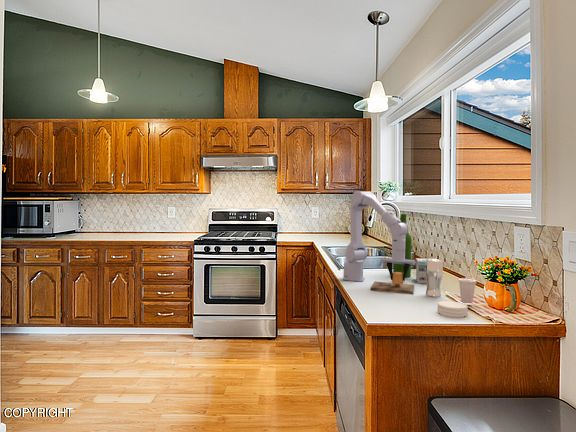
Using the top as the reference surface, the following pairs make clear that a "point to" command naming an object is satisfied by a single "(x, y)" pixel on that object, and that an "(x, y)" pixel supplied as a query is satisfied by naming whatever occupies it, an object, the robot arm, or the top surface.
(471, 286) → the smoothie
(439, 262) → the beer glass
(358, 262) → the robot arm
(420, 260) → the light bulb box
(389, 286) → the junction board
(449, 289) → the top surface
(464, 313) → the coaster
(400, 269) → the wine bottle
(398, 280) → the orange brown block
